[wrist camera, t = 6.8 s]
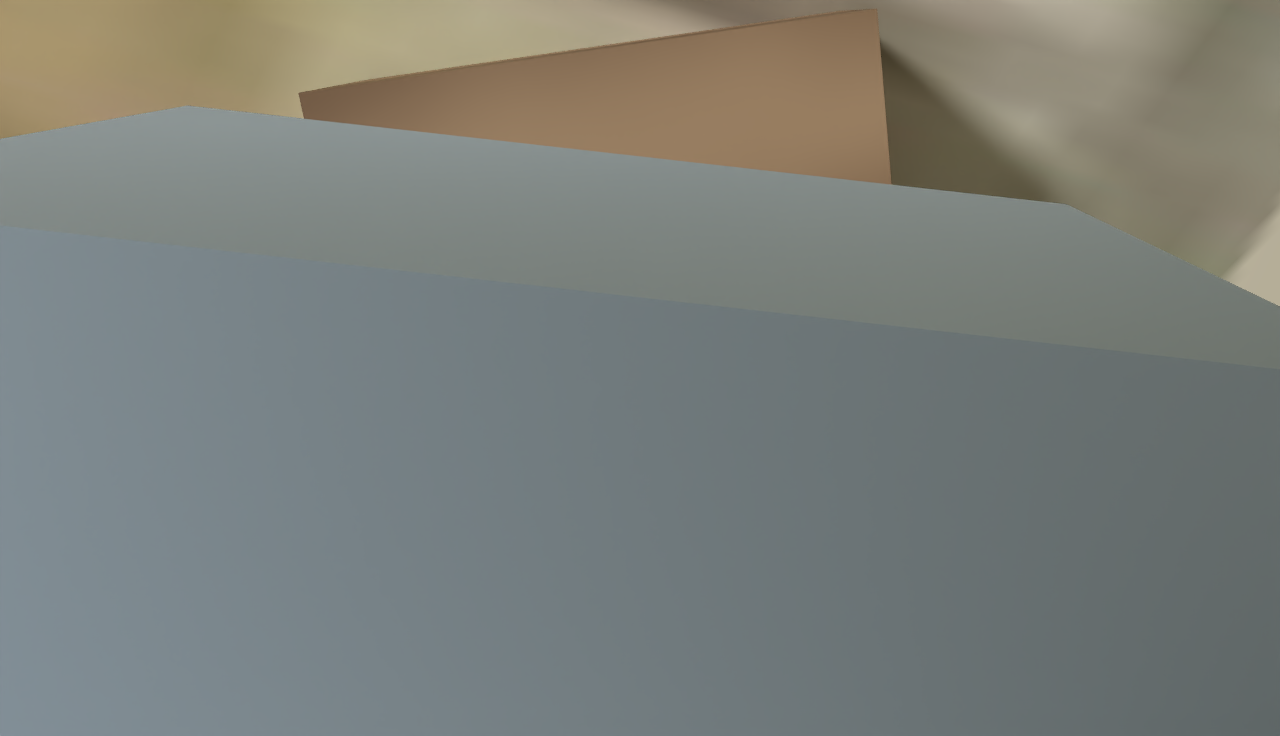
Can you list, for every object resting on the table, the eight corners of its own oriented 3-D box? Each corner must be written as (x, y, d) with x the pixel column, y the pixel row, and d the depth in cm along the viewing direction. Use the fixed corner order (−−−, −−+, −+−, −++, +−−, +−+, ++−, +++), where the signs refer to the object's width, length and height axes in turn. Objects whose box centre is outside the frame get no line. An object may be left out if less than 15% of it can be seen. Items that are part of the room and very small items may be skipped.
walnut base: (370, 79, 31) (298, 92, 25) (839, 11, 30) (877, 8, 24) (455, 509, 34) (409, 609, 28) (879, 459, 33) (922, 551, 27)
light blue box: (187, 105, 14) (-300, 192, 7) (1067, 204, 13) (1449, 389, 7) (188, 848, 16) (-157, 1429, 10) (914, 929, 16) (1078, 1565, 10)
